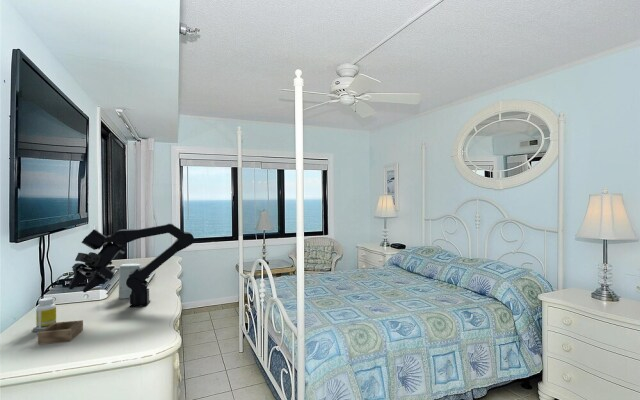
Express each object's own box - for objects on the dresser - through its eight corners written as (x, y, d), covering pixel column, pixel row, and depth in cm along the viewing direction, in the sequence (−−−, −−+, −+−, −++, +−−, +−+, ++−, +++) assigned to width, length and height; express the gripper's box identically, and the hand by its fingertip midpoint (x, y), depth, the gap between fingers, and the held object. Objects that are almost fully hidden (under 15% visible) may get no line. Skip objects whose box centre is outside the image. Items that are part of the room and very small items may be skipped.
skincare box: (118, 299, 149) (118, 266, 149) (122, 295, 155) (121, 263, 155) (139, 297, 152) (138, 265, 151) (142, 293, 157) (141, 262, 157)
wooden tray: (83, 330, 114) (82, 320, 114) (70, 341, 106) (69, 330, 106) (53, 332, 112) (53, 322, 112) (37, 344, 104) (37, 333, 104)
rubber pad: (62, 323, 121) (62, 322, 121) (51, 331, 114) (51, 329, 114) (40, 325, 119) (40, 324, 119) (27, 333, 113) (27, 331, 113)
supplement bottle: (60, 324, 119) (60, 297, 119) (46, 330, 114) (46, 301, 114) (46, 323, 120) (46, 296, 120) (32, 329, 114) (31, 301, 114)
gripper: (76, 243, 134) (45, 276, 124) (105, 245, 126) (73, 281, 116) (97, 259, 141) (69, 291, 131) (125, 262, 133) (97, 297, 123)
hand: (76, 290), depth 125 cm, fingers open, 9 cm apart
